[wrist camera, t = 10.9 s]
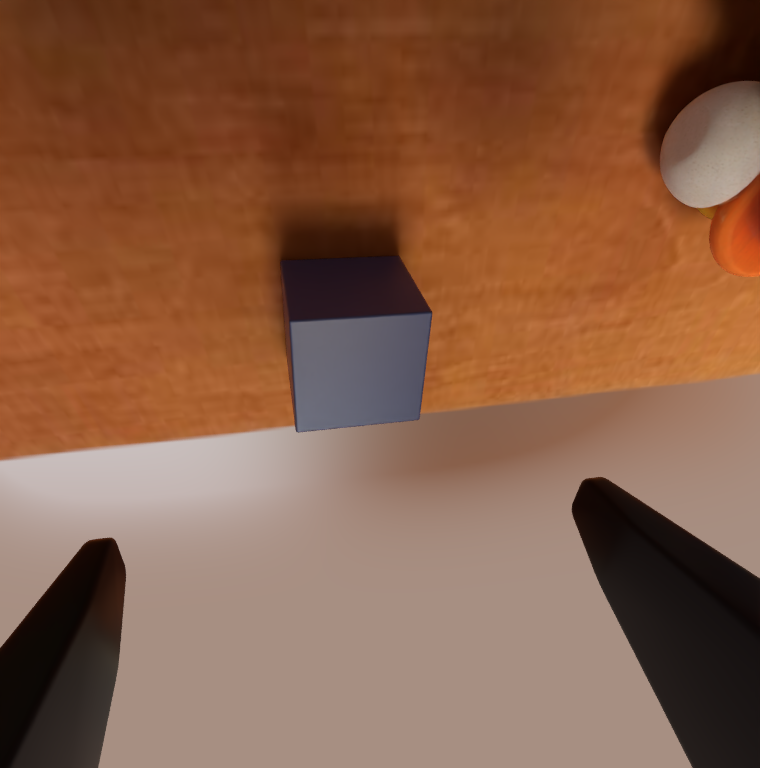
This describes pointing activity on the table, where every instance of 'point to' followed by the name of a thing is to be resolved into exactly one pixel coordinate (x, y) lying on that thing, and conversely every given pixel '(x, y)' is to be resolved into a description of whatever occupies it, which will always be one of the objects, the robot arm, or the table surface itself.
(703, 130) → the rainbow wheeled toy
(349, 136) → the table surface
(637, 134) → the table surface
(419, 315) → the navy block
